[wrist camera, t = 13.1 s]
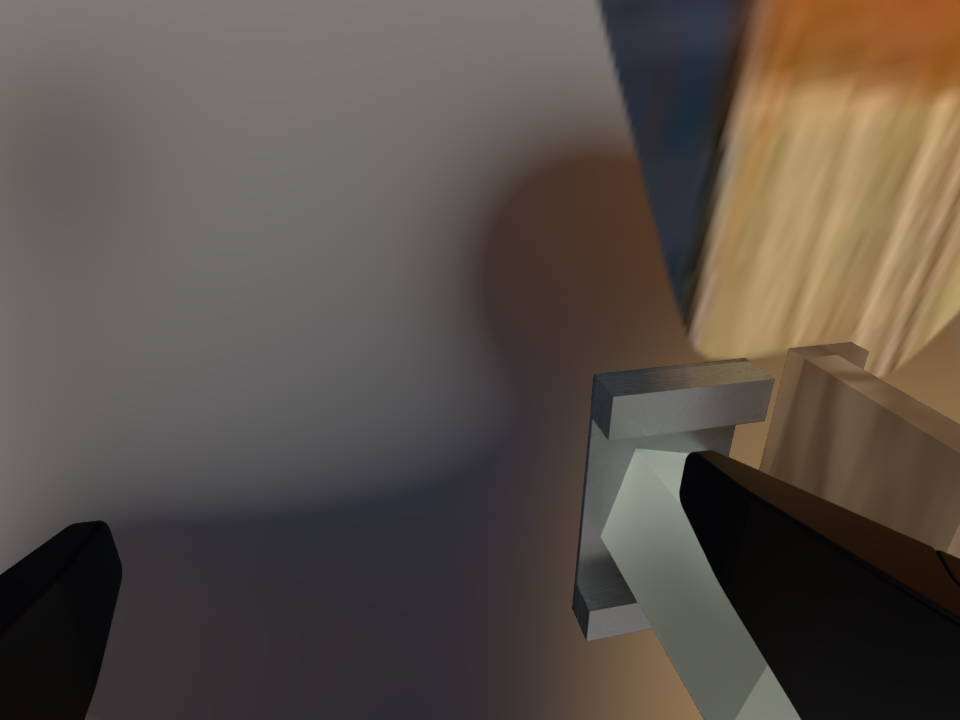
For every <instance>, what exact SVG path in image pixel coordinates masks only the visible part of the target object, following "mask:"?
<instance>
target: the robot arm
mask: <svg viewBox="0 0 960 720" xmlns="http://www.w3.org/2000/svg"><path fill="white" fill-rule="evenodd" d="M679 497H680V502H681V505H682V508H683V510H684V512H685V514H686V516H687V518H688V521H689V523H690V525H691V527H692V529H693V531H694V533H695V535H696V537H697V539H698V542H699V544H700V546H701V548H702V550H703V552H704V554H705V556H706V558H707V561H708V563H709V565H710V567H711V569H712V571H713V573H714V575H715V577H716V579H717V581H718V583H719V584H720V586H721V588H722V590H723V591H724V593H725V595H726V597H727V598H728V600H729V602H730V603H731V605H732V607H733V608H734V610H735V611H736V613H737V615H738V616H739V618H740V620H741V621H742V623H743V625H744V626H745V628H746V630H747V631H748V633H749V634H750V636H751V638H752V639H753V641H754V643H755V644H756V646H757V648H758V649H759V651H760V653H761V654H762V656H763V658H764V659H765V661H766V662H767V664H768V666H769V667H770V669H771V671H772V672H773V674H774V676H775V677H776V679H777V681H778V682H779V684H780V686H781V687H782V689H783V690H784V692H785V694H786V695H787V697H788V699H789V700H790V702H791V704H792V705H793V707H794V709H795V710H796V712H797V713H798V715H799V717H800V718H801V720H960V559H959V558H957V557H955V556H953V555H950V554H948V553H946V552H944V551H941V550H935V549H934V548H933V547H932V546H930V545H927V544H925V543H923V542H921V541H918V540H916V539H914V538H912V537H909V536H907V535H905V534H902V533H900V532H898V531H896V530H893V529H891V528H889V527H887V526H884V525H882V524H880V523H877V522H875V521H873V520H871V519H868V518H866V517H864V516H862V515H859V514H857V513H855V512H852V511H850V510H848V509H846V508H843V507H841V506H839V505H837V504H834V503H832V502H830V501H827V500H825V499H823V498H821V497H818V496H816V495H814V494H812V493H809V492H807V491H805V490H803V489H800V488H798V487H796V486H793V485H791V484H789V483H787V482H784V481H782V480H780V479H778V478H775V477H773V476H771V475H768V474H766V473H764V472H762V471H759V470H757V469H755V468H752V467H750V466H748V465H745V464H743V463H741V462H739V461H737V460H734V459H732V458H730V457H728V456H725V455H723V454H721V453H719V452H716V451H714V450H705V451H696V452H691V453H690V454H688V456H687V457H686V460H685V464H684V469H683V474H682V480H681V485H680V490H679ZM121 580H122V565H121V561H120V558H119V555H118V552H117V549H116V546H115V543H114V540H113V537H112V534H111V531H110V528H109V526H108V525H107V524H106V523H105V522H103V521H91V522H83V523H75V524H72V525H70V526H68V527H66V528H65V529H64V530H62V531H61V532H59V533H58V534H57V535H55V536H54V537H52V538H51V539H50V540H48V541H47V542H46V543H44V544H43V545H42V546H40V547H39V548H37V549H36V550H34V551H33V552H31V553H30V554H29V555H27V556H26V557H25V558H23V559H22V560H21V561H19V562H18V563H16V564H15V565H13V566H12V567H11V568H9V569H8V570H6V571H5V572H4V573H2V574H1V575H0V720H85V717H86V714H87V711H88V708H89V706H90V703H91V700H92V697H93V694H94V691H95V688H96V685H97V681H98V677H99V673H100V670H101V666H102V661H103V657H104V653H105V649H106V644H107V640H108V635H109V631H110V627H111V623H112V619H113V614H114V610H115V606H116V602H117V597H118V593H119V589H120V585H121Z"/></svg>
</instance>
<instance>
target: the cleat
mask: <svg viewBox="0 0 960 720" xmlns="http://www.w3.org/2000/svg"><path fill="white" fill-rule="evenodd" d="M593 376H594V377H593V386H592V398H591V409H590V419H589V430H588V441H587V453H586V463H585V474H584V485H583V496H582V507H581V518H580V529H579V541H578V551H577V563H576V573H575V584H574V596H573V606H572V609H573V611H574V614H575V616H576V618H577V620H578V623H579V625H580V627H581V630H582V632H583V634H584V636H585V639H586V641H591V640H596V639H601V638H607V637H612V636H617V635H622V634H627V633H633V632H638V631H643V630H648V629H652V627H651V625H650V623H649V622H648V620H647V618H646V616H645V614H644V613H643V611H642V609H641V607H640V606H639V604H638V602H637V600H636V598H635V597H634V595H633V593H632V591H631V590H630V588H629V586H628V584H627V583H626V581H625V579H624V577H623V575H622V574H621V572H620V570H619V568H618V567H617V565H616V563H615V561H614V559H613V558H612V556H611V554H610V552H609V551H608V549H607V547H606V545H605V544H604V542H603V540H602V538H601V535H602V532H603V530H604V527H605V525H606V522H607V519H608V517H609V514H610V512H611V509H612V507H613V504H614V502H615V499H616V497H617V494H618V492H619V489H620V487H621V484H622V482H623V479H624V477H625V474H626V472H627V469H628V467H629V464H630V462H631V459H632V457H633V454H634V452H635V449H636V448H638V449H648V450H658V451H668V452H678V453H688V454H690V453H691V452H696V451H705V450H714V451H716V452H719V453H721V454H723V455H725V456H728V457H729V453H730V448H731V444H732V439H733V434H734V429H735V425H738V424H746V423H754V422H762V421H765V418H766V413H767V409H768V405H769V401H770V396H771V392H772V388H773V384H774V380H775V379H774V378H773V377H771V376H770V375H768V374H767V373H766V372H764V371H763V370H761V369H760V368H759V367H757V366H756V365H754V364H753V363H751V362H750V361H749V360H747V359H746V358H742V359H732V360H722V361H712V362H703V363H693V364H684V365H674V366H665V367H654V368H644V369H635V370H625V371H616V372H606V373H596V374H594V375H593Z"/></svg>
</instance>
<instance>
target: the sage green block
mask: <svg viewBox="0 0 960 720" xmlns="http://www.w3.org/2000/svg"><path fill="white" fill-rule="evenodd" d="M687 456H688V453H678V452H668V451H658V450H648V449H638V448H636V449H635V452H634V454H633V457H632V459H631V462H630V464H629V467H628V469H627V472H626V474H625V477H624V479H623V482H622V484H621V487H620V489H619V492H618V494H617V497H616V499H615V502H614V504H613V507H612V509H611V512H610V514H609V517H608V519H607V522H606V525H605V527H604V530H603V532H602V535H601V538H602V540H603V542H604V544H605V545H606V547H607V549H608V551H609V552H610V554H611V556H612V558H613V559H614V561H615V563H616V565H617V567H618V568H619V570H620V572H621V574H622V575H623V577H624V579H625V581H626V583H627V584H628V586H629V588H630V590H631V591H632V593H633V595H634V597H635V598H636V600H637V602H638V604H639V606H640V607H641V609H642V611H643V613H644V614H645V616H646V618H647V620H648V622H649V623H650V625H651V627H652V629H653V630H654V632H655V634H656V636H657V637H658V639H659V641H660V643H661V645H662V646H663V648H664V650H665V651H666V653H667V655H668V657H669V659H670V661H671V662H672V664H673V666H674V668H675V669H676V671H677V673H678V675H679V676H680V678H681V680H682V682H683V683H684V685H685V687H686V689H687V690H688V692H689V694H690V696H691V698H692V700H693V701H694V703H695V705H696V706H697V708H698V710H699V712H700V714H701V715H702V717H703V719H704V720H801V718H800V717H799V715H798V713H797V712H796V710H795V709H794V707H793V705H792V704H791V702H790V700H789V699H788V697H787V695H786V694H785V692H784V690H783V689H782V687H781V686H780V684H779V682H778V681H777V679H776V677H775V676H774V674H773V672H772V671H771V669H770V667H769V666H768V664H767V662H766V661H765V659H764V658H763V656H762V654H761V653H760V651H759V649H758V648H757V646H756V644H755V643H754V641H753V639H752V638H751V636H750V634H749V633H748V631H747V630H746V628H745V626H744V625H743V623H742V621H741V620H740V618H739V616H738V615H737V613H736V611H735V610H734V608H733V607H732V605H731V603H730V602H729V600H728V598H727V597H726V595H725V593H724V591H723V590H722V588H721V586H720V584H719V583H718V581H717V579H716V577H715V575H714V573H713V571H712V569H711V567H710V565H709V563H708V561H707V558H706V556H705V554H704V552H703V550H702V548H701V546H700V544H699V542H698V539H697V537H696V535H695V533H694V531H693V529H692V527H691V525H690V523H689V521H688V518H687V516H686V514H685V512H684V510H683V508H682V505H681V502H680V497H679V490H680V485H681V480H682V474H683V469H684V464H685V460H686V457H687Z"/></svg>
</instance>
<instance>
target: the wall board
mask: <svg viewBox="0 0 960 720" xmlns="http://www.w3.org/2000/svg"><path fill="white" fill-rule="evenodd" d="M868 353H869V351H867V350H865V349H863V348H862V347H860V346H858V345H856V344H854V343H852V342H849V343H839V344H829V345H820V346H810V347H800V348H790V349H789V350H788V355H787V359H786V363H785V367H784V371H783V375H782V379H781V383H780V387H779V391H778V396H777V399H776V403H775V407H774V412H773V415H772V420H771V424H770V428H769V432H768V436H767V440H766V444H765V448H764V452H763V456H762V460H761V464H760V468H759V471H762V472H764V473H766V474H768V475H771V476H773V477H775V478H778V479H780V480H782V481H784V482H787V483H789V484H791V485H793V486H796V487H798V488H800V489H803V490H805V491H807V492H809V493H812V494H814V495H816V496H818V497H821V498H823V499H825V500H827V501H830V502H832V503H834V504H837V505H839V506H841V507H843V508H846V509H848V510H850V511H852V512H855V513H857V514H859V515H862V516H864V517H866V518H868V519H871V520H873V521H875V522H877V523H880V524H882V525H884V526H887V527H889V528H891V529H893V530H896V531H898V532H900V533H902V534H905V535H907V536H909V537H912V538H914V539H916V540H918V541H921V542H923V543H925V544H927V545H930V546H932V547H933V548H934V549H935V550H941V551H944V552H946V553H948V554H950V555H953V556H955V557H957V558H959V559H960V424H958V423H957V422H955V421H953V420H951V419H950V418H948V417H946V416H944V415H943V414H941V413H939V412H937V411H936V410H934V409H932V408H930V407H928V406H926V405H925V404H923V403H921V402H919V401H918V400H916V399H914V398H912V397H911V396H909V395H907V394H905V393H904V392H902V391H900V390H898V389H897V388H895V387H893V386H891V385H890V384H888V383H886V382H884V381H883V380H881V379H879V378H877V377H876V376H874V375H872V374H870V373H868V372H867V371H865V370H863V369H864V366H865V363H866V359H867V356H868Z"/></svg>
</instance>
